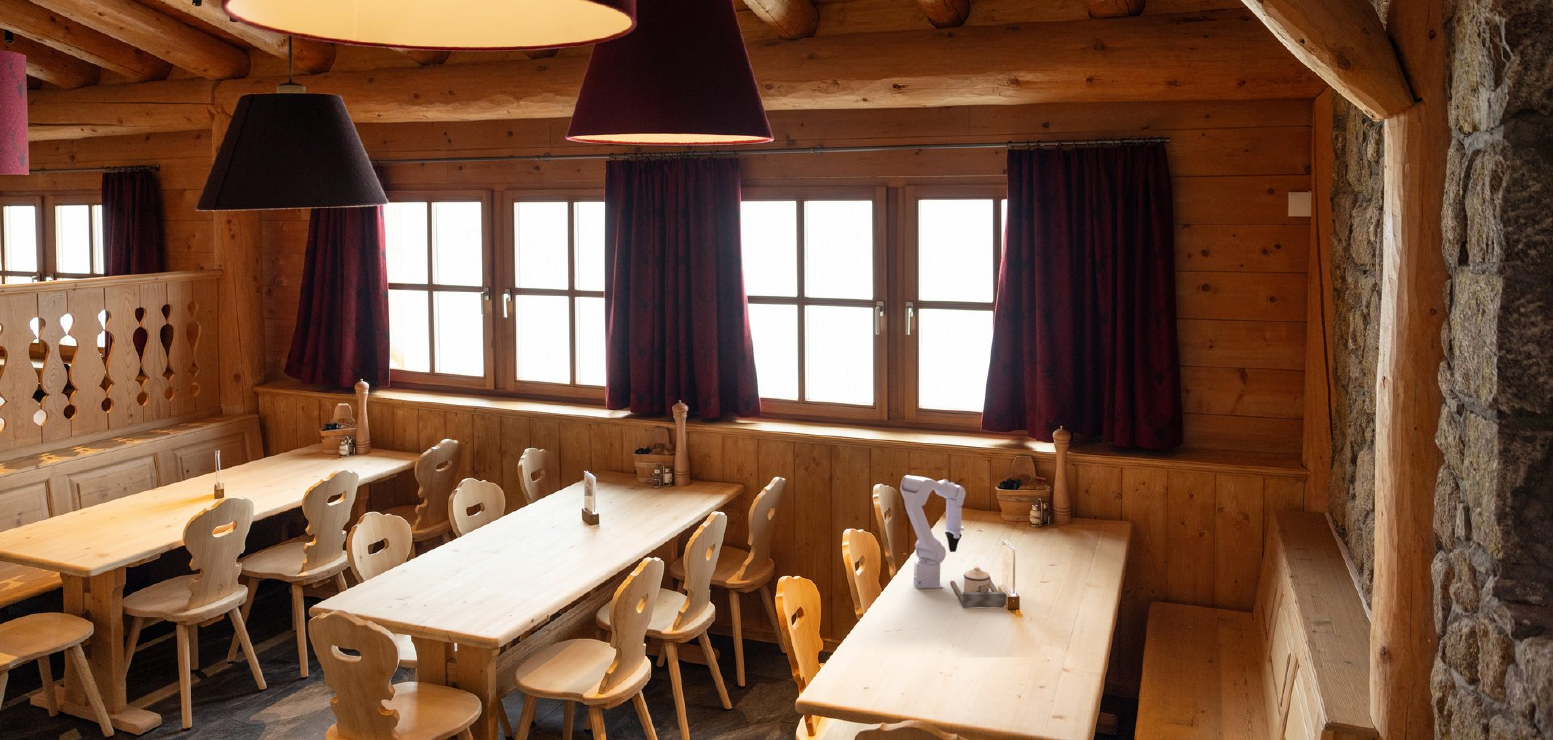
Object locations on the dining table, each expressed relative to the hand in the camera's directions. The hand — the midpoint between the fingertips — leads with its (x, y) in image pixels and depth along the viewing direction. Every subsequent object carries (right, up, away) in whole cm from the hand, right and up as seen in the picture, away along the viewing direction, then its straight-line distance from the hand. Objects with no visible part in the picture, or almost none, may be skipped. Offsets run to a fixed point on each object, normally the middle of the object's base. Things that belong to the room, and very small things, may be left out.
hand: (952, 551), depth 443 cm
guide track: (+6, -13, -19) cm, 24 cm away
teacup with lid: (+6, -13, -22) cm, 27 cm away
